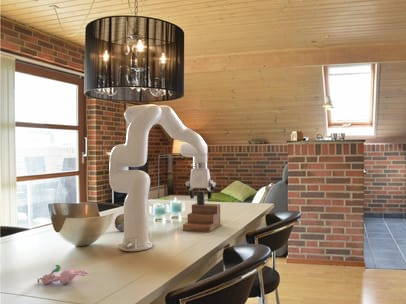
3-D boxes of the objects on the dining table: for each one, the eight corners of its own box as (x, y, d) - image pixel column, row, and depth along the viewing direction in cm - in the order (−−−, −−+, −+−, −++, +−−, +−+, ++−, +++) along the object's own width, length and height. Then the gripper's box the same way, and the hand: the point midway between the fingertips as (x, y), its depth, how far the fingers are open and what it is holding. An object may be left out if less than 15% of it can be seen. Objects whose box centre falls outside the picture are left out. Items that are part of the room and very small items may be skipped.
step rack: (209, 232, 167) (209, 209, 167) (182, 230, 171) (182, 208, 171) (220, 224, 183) (220, 204, 183) (195, 223, 187) (195, 203, 187)
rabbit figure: (34, 291, 102) (82, 284, 100) (31, 271, 102) (78, 263, 100) (48, 283, 108) (93, 276, 106) (45, 264, 108) (90, 257, 106)
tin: (117, 232, 168) (117, 215, 168) (113, 231, 170) (113, 214, 170) (143, 227, 180) (142, 210, 180) (139, 226, 182) (139, 210, 182)
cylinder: (202, 205, 180) (202, 191, 180) (195, 204, 182) (195, 191, 182) (205, 203, 184) (205, 190, 184) (198, 203, 185) (198, 190, 185)
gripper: (182, 166, 182) (182, 199, 182) (213, 166, 177) (213, 200, 177) (188, 165, 189) (188, 197, 189) (218, 165, 184) (218, 198, 184)
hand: (200, 198), depth 183 cm, fingers open, 9 cm apart
